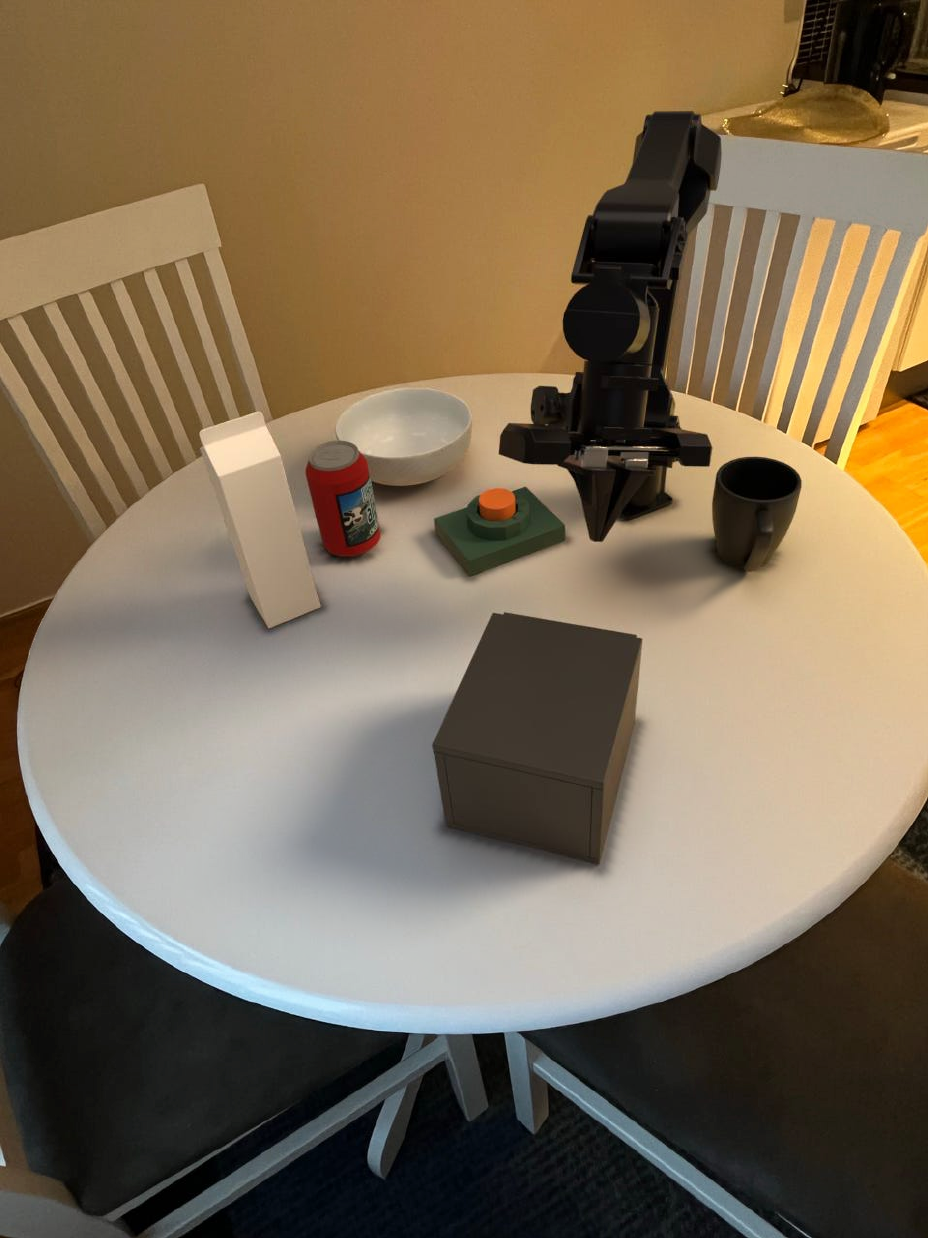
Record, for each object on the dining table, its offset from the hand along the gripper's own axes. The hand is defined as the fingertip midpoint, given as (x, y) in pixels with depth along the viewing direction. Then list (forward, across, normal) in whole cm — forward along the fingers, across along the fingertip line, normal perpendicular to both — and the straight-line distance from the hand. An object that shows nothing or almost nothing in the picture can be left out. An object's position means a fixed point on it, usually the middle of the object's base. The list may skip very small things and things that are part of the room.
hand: (596, 540), depth 76 cm
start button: (+1, +1, -19) cm, 19 cm away
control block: (+4, 0, -20) cm, 21 cm away
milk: (+12, +24, -22) cm, 35 cm away
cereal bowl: (0, +5, -38) cm, 38 cm away
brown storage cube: (+18, +8, +9) cm, 22 cm away
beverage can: (+7, +15, -28) cm, 32 cm away
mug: (+4, -21, -4) cm, 22 cm away
